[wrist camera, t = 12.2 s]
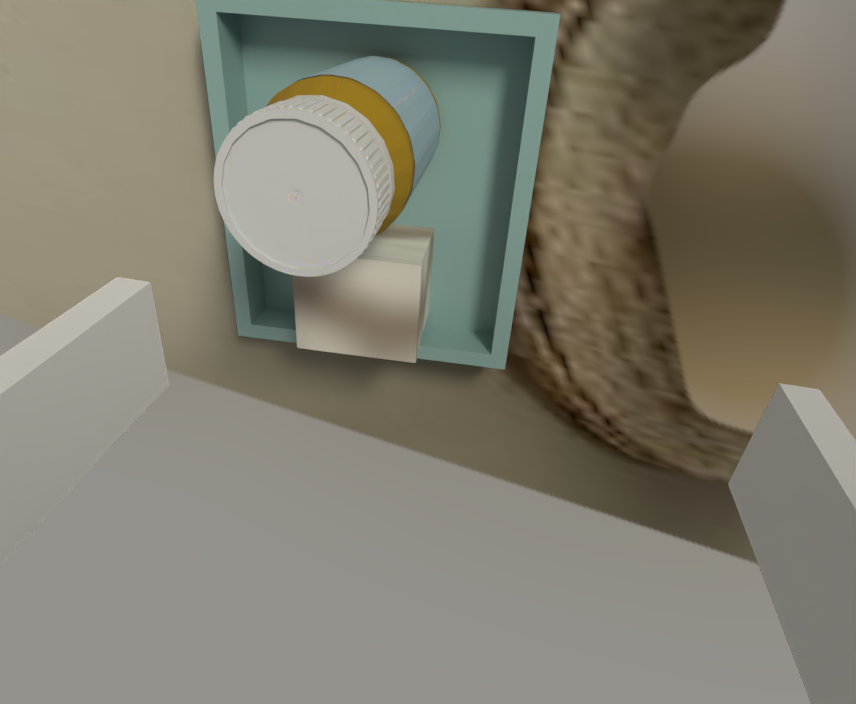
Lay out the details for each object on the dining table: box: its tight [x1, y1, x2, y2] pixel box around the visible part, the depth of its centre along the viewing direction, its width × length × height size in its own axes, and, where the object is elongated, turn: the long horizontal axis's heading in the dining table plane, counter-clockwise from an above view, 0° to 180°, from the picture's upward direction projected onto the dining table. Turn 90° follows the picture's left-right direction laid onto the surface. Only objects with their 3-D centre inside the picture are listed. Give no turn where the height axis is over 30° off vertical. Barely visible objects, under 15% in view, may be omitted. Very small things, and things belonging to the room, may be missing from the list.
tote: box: [196, 0, 560, 370], centre depth 35 cm, size 20×18×4 cm
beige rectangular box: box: [292, 224, 435, 363], centre depth 36 cm, size 6×7×6 cm
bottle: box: [214, 56, 441, 277], centre depth 27 cm, size 7×7×15 cm
